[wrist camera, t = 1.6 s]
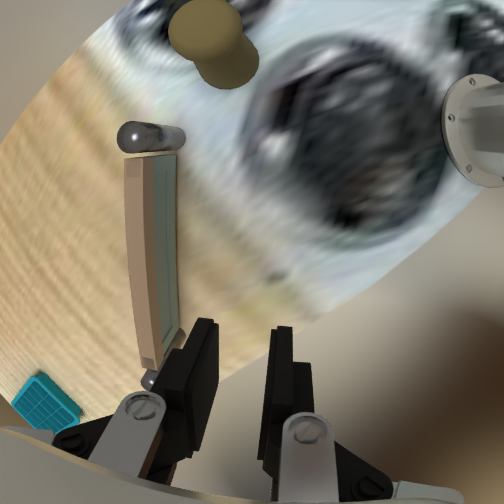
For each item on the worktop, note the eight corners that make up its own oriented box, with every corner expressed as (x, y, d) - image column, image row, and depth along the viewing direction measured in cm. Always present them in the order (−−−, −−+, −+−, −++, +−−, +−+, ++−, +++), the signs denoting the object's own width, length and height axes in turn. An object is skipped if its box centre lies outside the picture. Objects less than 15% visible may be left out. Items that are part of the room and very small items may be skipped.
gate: (162, 154, 29) (124, 158, 22) (177, 154, 29) (142, 158, 21) (167, 325, 35) (141, 367, 28) (180, 327, 35) (157, 370, 28)
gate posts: (186, 126, 29) (146, 120, 20) (187, 342, 37) (162, 394, 28) (163, 127, 29) (117, 122, 20) (169, 339, 37) (140, 389, 28)
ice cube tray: (89, 411, 45) (81, 421, 42) (54, 432, 51) (48, 441, 48) (42, 364, 43) (32, 374, 40) (16, 396, 49) (9, 404, 46)
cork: (250, 95, 27) (231, 67, 17) (190, 84, 28) (145, 56, 17) (266, 40, 25) (256, -10, 15) (207, 31, 26) (171, -16, 15)
